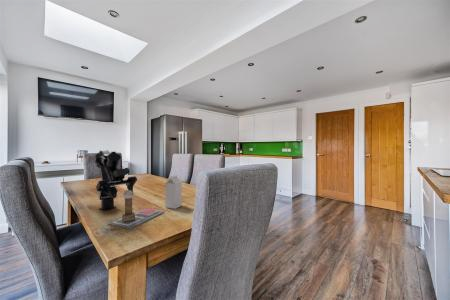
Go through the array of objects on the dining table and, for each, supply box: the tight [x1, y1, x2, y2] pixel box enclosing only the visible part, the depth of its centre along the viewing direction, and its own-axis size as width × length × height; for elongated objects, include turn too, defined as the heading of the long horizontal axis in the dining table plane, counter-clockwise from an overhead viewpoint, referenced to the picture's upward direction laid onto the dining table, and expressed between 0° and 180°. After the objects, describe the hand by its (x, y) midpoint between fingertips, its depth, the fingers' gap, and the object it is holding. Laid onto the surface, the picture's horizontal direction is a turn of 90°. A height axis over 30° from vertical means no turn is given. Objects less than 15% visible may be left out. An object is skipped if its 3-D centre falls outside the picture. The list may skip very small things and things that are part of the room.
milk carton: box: [164, 175, 183, 210], centre depth 116 cm, size 7×7×19 cm
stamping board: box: [107, 208, 165, 230], centre depth 96 cm, size 14×23×2 cm, turn 160°
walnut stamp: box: [121, 189, 135, 223], centre depth 92 cm, size 5×5×15 cm
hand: (123, 196), depth 95 cm, fingers open, 9 cm apart
